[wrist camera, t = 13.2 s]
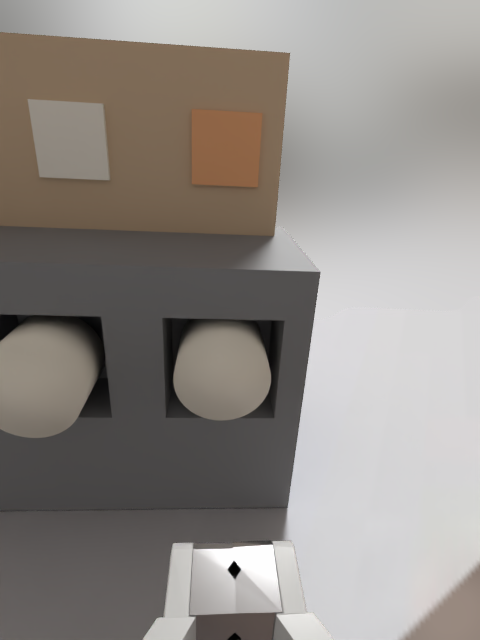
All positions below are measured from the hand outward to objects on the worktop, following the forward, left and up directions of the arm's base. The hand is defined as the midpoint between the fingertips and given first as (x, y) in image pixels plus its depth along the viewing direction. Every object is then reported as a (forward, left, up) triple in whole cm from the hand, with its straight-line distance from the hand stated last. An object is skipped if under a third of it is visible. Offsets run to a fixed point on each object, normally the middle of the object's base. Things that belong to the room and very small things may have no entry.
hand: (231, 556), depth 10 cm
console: (-8, +14, -9) cm, 19 cm away
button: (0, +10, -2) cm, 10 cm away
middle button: (-8, +9, -2) cm, 12 cm away
